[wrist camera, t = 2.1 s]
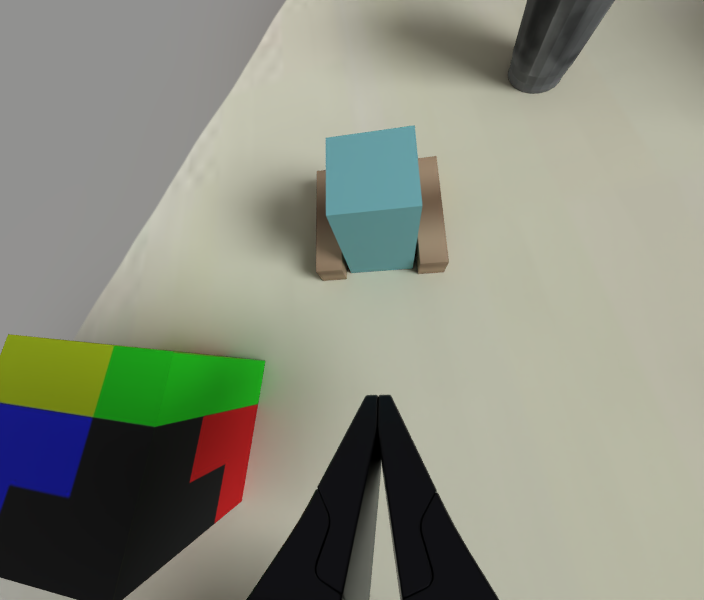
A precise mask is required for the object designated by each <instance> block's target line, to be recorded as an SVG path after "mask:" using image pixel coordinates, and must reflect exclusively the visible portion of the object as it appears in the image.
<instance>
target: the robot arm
mask: <svg viewBox="0 0 704 600" xmlns="http://www.w3.org/2000/svg"><path fill="white" fill-rule="evenodd" d="M381 461H382V469H383V477H384V484H385V491H386V499H387V506H388V513H389V520H390V528H391V535H392V542H393V550H394V557H395V564H396V571H397V579H398V586H399V593H400V600H499V599H498V597H497V595H496V594H495V592H494V591H493V589H492V587H491V586H490V584H489V582H488V581H487V579H486V578H485V576H484V574H483V573H482V571H481V569H480V568H479V566H478V565H477V563H476V561H475V560H474V558H473V556H472V555H471V553H470V552H469V550H468V548H467V547H466V545H465V543H464V541H463V540H462V538H461V536H460V534H459V533H458V531H457V529H456V528H455V526H454V524H453V522H452V520H451V518H450V516H449V514H448V512H447V510H446V508H445V506H444V504H443V502H442V500H441V498H440V496H439V494H438V493H437V490H436V488H435V486H434V484H433V482H432V480H431V478H430V475H429V473H428V471H427V469H426V467H425V465H424V463H423V461H422V459H421V457H420V455H419V453H418V451H417V448H416V446H415V444H414V442H413V440H412V438H411V436H410V434H409V432H408V430H407V428H406V426H405V423H404V421H403V419H402V417H401V415H400V413H399V411H398V409H397V407H396V405H395V403H394V401H393V399H392V397H391V395H379V397H378V396H377V395H367V396H366V397H365V398H364V400H363V402H362V404H361V406H360V408H359V409H358V411H357V413H356V415H355V417H354V419H353V421H352V423H351V425H350V426H349V428H348V430H347V432H346V434H345V436H344V438H343V440H342V442H341V443H340V445H339V447H338V449H337V451H336V453H335V455H334V457H333V459H332V460H331V462H330V464H329V466H328V468H327V470H326V472H325V474H324V476H323V477H322V479H321V481H320V483H319V485H318V489H316V490H315V492H314V494H313V496H312V498H311V500H310V502H309V504H308V505H307V507H306V509H305V511H304V512H303V514H302V516H301V518H300V520H299V521H298V523H297V524H296V526H295V527H294V529H293V531H292V532H291V534H290V535H289V537H288V539H287V540H286V542H285V543H284V545H283V546H282V548H281V549H280V551H279V552H278V554H277V555H276V557H275V558H274V560H273V561H272V563H271V564H270V566H269V567H268V569H267V570H266V572H265V573H264V575H263V576H262V578H261V579H260V581H259V582H258V584H257V585H256V586H255V588H254V589H253V591H252V592H251V594H250V595H249V597H248V598H247V599H246V600H369V597H370V586H371V575H372V564H373V553H374V542H375V531H376V520H377V509H378V498H379V486H380V475H381Z"/></svg>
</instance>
